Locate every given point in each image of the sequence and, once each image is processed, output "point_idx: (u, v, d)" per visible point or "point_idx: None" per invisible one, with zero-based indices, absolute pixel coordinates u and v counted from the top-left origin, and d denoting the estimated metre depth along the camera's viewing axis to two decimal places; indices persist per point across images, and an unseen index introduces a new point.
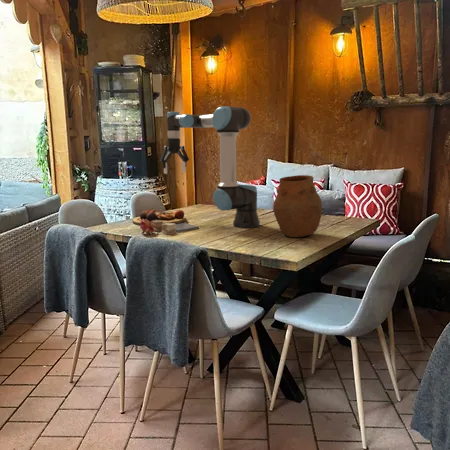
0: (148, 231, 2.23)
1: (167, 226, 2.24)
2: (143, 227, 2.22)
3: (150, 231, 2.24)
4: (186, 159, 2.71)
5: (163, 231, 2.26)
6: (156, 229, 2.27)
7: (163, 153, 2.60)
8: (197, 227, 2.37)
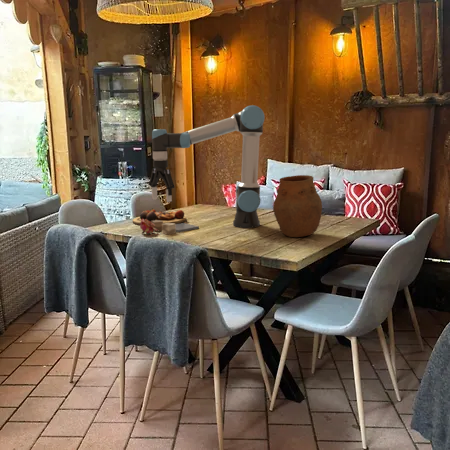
0: (148, 231, 2.23)
1: (167, 226, 2.24)
2: (143, 227, 2.22)
3: (150, 231, 2.24)
4: None
5: (163, 231, 2.26)
6: (156, 229, 2.27)
7: None
8: (197, 227, 2.37)
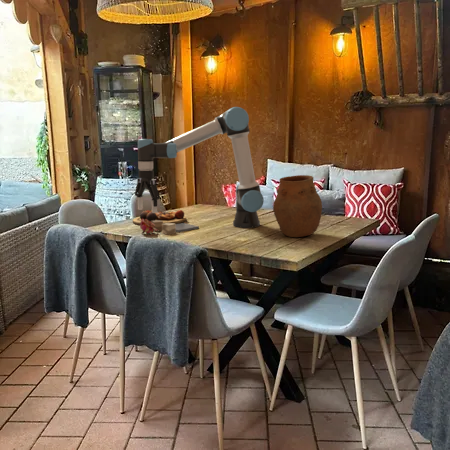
0: (148, 231, 2.23)
1: (167, 226, 2.24)
2: (143, 227, 2.22)
3: (150, 231, 2.24)
4: None
5: (163, 231, 2.26)
6: (156, 229, 2.27)
7: None
8: (197, 227, 2.37)
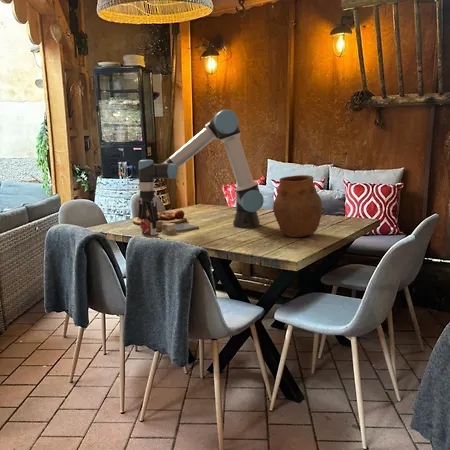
0: (148, 231, 2.23)
1: (167, 226, 2.24)
2: (143, 227, 2.22)
3: (150, 231, 2.24)
4: None
5: (163, 231, 2.26)
6: (156, 229, 2.27)
7: None
8: (197, 227, 2.37)
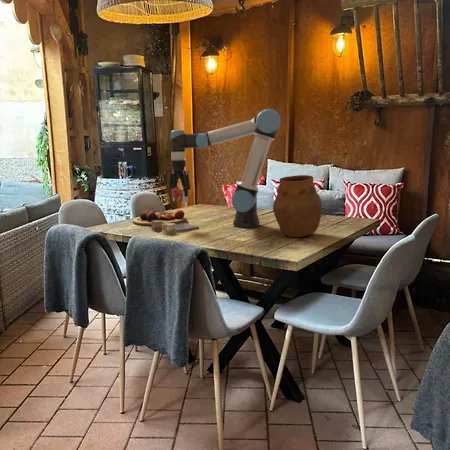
0: (180, 199, 2.32)
1: (167, 226, 2.24)
2: (175, 195, 2.31)
3: (182, 199, 2.33)
4: (185, 188, 2.29)
5: (163, 231, 2.26)
6: None
7: None
8: (197, 227, 2.37)
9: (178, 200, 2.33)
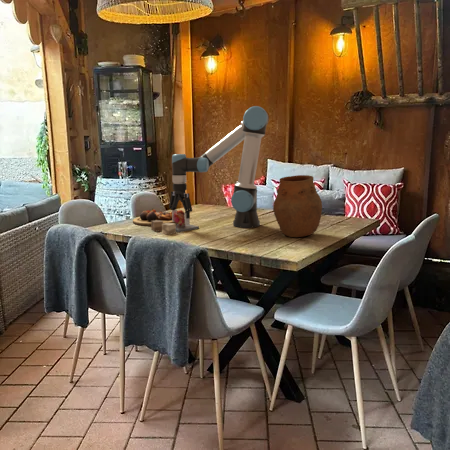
0: (181, 223, 2.35)
1: (167, 226, 2.24)
2: (176, 219, 2.35)
3: (183, 223, 2.36)
4: None
5: (163, 231, 2.26)
6: None
7: None
8: (197, 227, 2.37)
9: (179, 224, 2.36)
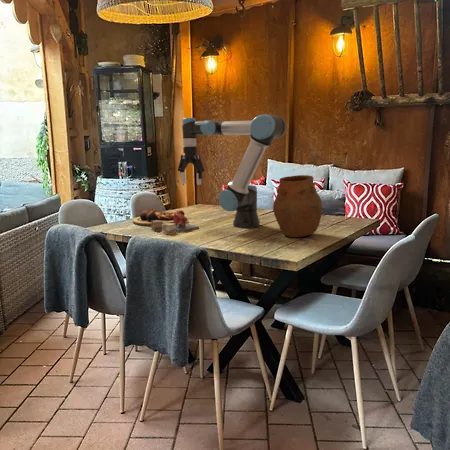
0: (181, 224, 2.35)
1: (167, 226, 2.24)
2: (176, 220, 2.35)
3: (183, 224, 2.36)
4: (199, 170, 2.38)
5: (163, 231, 2.26)
6: (188, 222, 2.39)
7: None
8: (197, 227, 2.37)
9: (179, 224, 2.36)
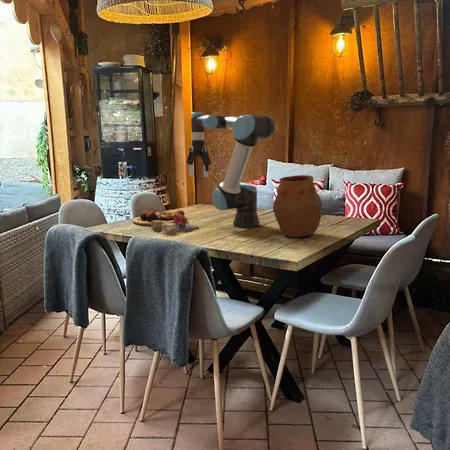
0: (181, 224, 2.35)
1: (167, 226, 2.24)
2: (176, 220, 2.35)
3: (183, 224, 2.36)
4: (206, 163, 2.48)
5: (163, 231, 2.26)
6: (188, 222, 2.39)
7: None
8: (197, 227, 2.37)
9: (179, 224, 2.36)
